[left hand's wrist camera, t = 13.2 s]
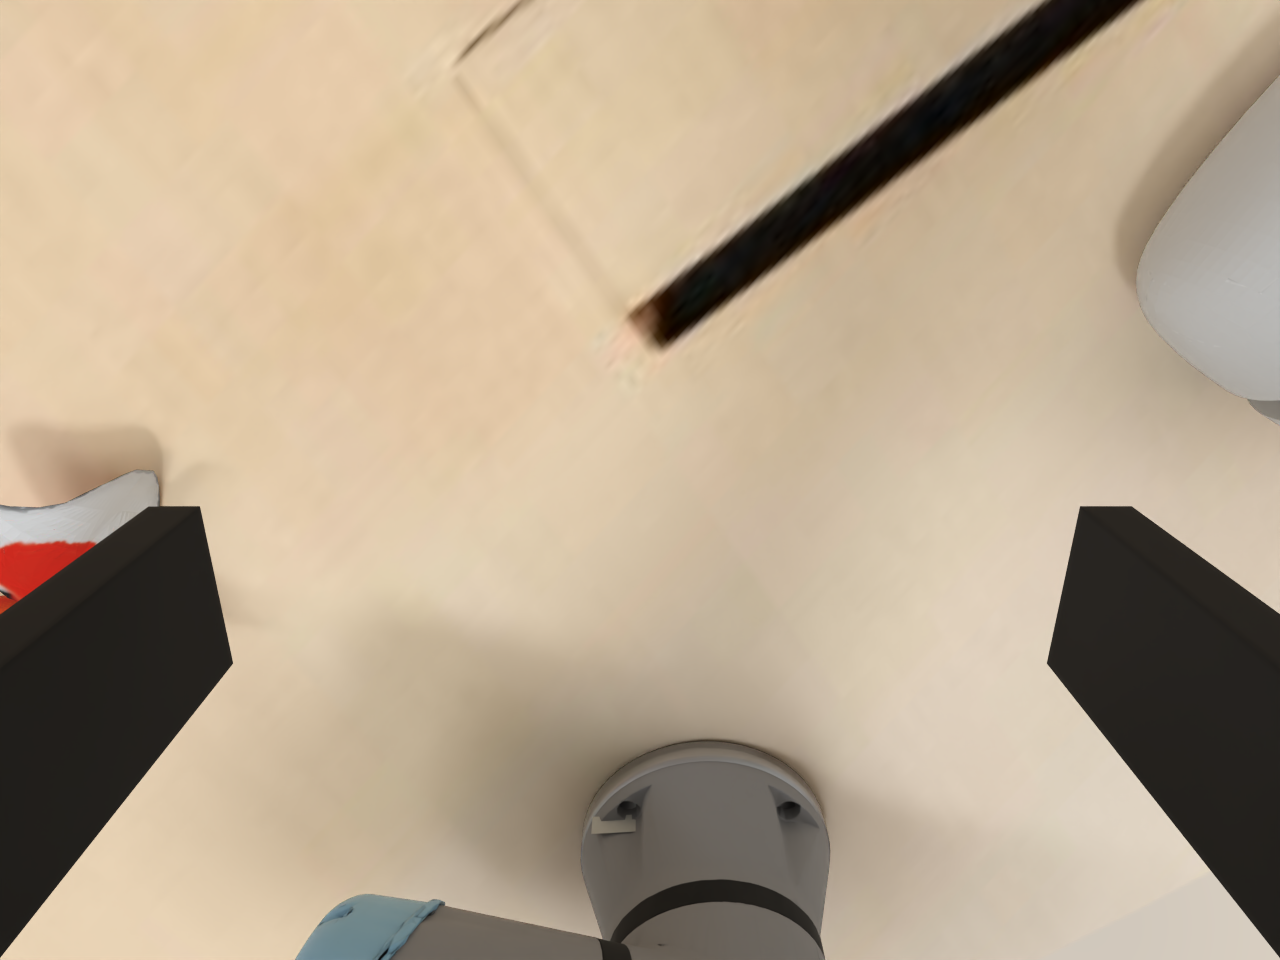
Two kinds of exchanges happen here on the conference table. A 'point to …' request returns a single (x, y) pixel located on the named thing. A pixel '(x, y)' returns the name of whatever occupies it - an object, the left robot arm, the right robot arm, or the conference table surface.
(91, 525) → the fish
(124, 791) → the left robot arm
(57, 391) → the conference table surface
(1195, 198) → the projector
